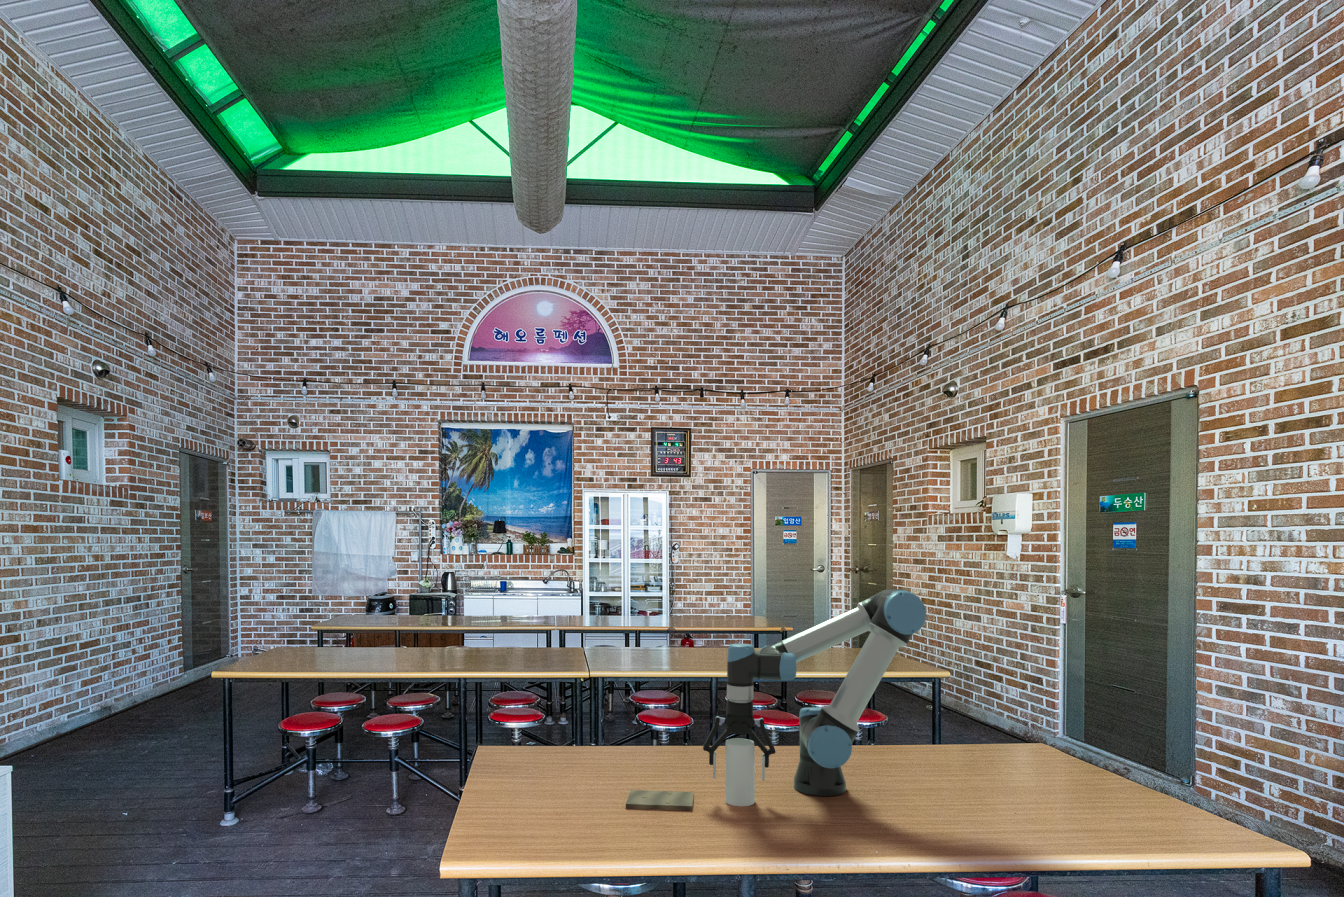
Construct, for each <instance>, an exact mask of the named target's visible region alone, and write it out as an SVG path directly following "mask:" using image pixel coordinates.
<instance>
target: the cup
mask: <svg viewBox="0 0 1344 897" xmlns="http://www.w3.org/2000/svg"><path fill="white" fill-rule="evenodd" d="M724 742H725V747H724V748H725V749H724V750H725V752H724V753H725V754H724V761H725V762H724V765H725V766H724V767H725V769H724V772H725V774H724V802H725V803H726V804H728V805H730V806H734V807H749V806H752V805H754V804H755V797H756V795H755V791H756V790H755V786H756V785H755V780H756V779H755V777H756V776H755V775H756V774H755V773H756V770H755V769H756V768H755V766H756V765H755V761H756V756H755V755H756V754H755V752H756V750H755V746H756V743H755V741H754V740H753V739H752V740H751V739H747V738H739V737H738V738H730V739H729V738H728V739H725V741H724Z"/></svg>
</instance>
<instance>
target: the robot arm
mask: <svg viewBox="0 0 1344 897" xmlns="http://www.w3.org/2000/svg"><path fill="white" fill-rule="evenodd" d="M926 620H927V610H926V606H925V603H924V602H923V601H922V599H921V598H920V597H919V596H918V595H917V594H915V593H913V592H911V591H909V590H906V589H898V588H895V587H893V588H887V589H884V590H881V591H879V592H877V593H875V594H874V595H871V596H870V597H868V598H866V599H864V600H862V601H860V602H858V603H857V605H856V607H855V608H853V609H850V610H848V611H846V612H843V613H841V614H839V615H837V616H835V617H832V618H829V619H828V620H825V621H823V622H821V623H819V624H817V625H814V626H812V627H810V628H807V629H805V630H803V631H801V632H798V633H796V634H794V635H791V636H789V637H788V638H785V639H783V640H780V641H778V642H776V643H774V644H768V645H765V646H762V648H760V650H759V651H756V650H755V647H754V646H755V645H754V644H749V643H732V644H730V645H729V646H728V647H727V648H728V649H727V662H726V664H727V665H726V668H727V669H726V670H727V672H726V674H727V675H726V677H727V678H726V699H727V700H726V712H725V713H726V716H725V717H720V716H719V715H716V716H715V718H714V724H713V726H712V728H711V730H710V732H709V734H708V735H707V738H706V740H705V741H704V743H703V746H702V750H703V751H704V752H708V753H709V754H708V756H709V758H708V759H709V760H708V761H709V765H710V766H712V768H713V769H712V779H716V776H717V749H718V748H719V747H720V746H721V745H722V744H723V742H725V741H726V740H727V738H728V737H729V736H730V735H731V734H732V735H736V736H737V735H741V736H745V735H747V734H748V736H750V738H751V739H752V741H754V743H755V745H757V746H758V749H760V751H761V752H762V753H761V769H760V770H761V771H760V772H761V775H760V776H761V781H762V782H765V780H766V779H765V778H766V776H765V774H766V773H765V772H766V770H765V769H766V768H769V767H770V756H771V755H775V754H776V753H777V752H776V749H775V746H774V744H773V741H772V740H771V738H770V735H769V733H768V732H767V731H768V730H767V729H766V727H765V720H764V718H763V717H759V718H754V702H753V700H754V681H755V680H771V681H772V680H775V681H783V682H785V681H793V680H795V679H796V677H797V663H799V662H802V661H803V660H805V659H808V658H810V657H812V656H814V655H817V654H819V653H821V652H823V651H826V650H828V649H830V648H833V647H835V646H837V645H839V644H842V643H844V642H846V641H848V640H850V639H853V638H855V637H857V636H860V635H862V634H864V633H867V632H870V633H869V635H868V636H867V638H866V639H865V642H864V644H863V645H862V647H861V649H860V651H859V653H858V654H857V656H856V657H855V659H854V661H853V663H852V665H851V667H850V669H849V670H848V672H847V673H846V676H845V677H844V679H843V681H842V682H841V684H840V686H839V688H838V690H837V691H836V693H835V695H834V697H833V698H832V700H831V702H830V704H828V705H823V706H822V707H816V706H814V707H812V706H811V707H810V706H809V707H802V708H800V709H799V716H798V720H799V761H798V764H797V768H796V771H795V774H794V777H793V788H794V789H795V790H797V791H798V792H800V793H803V794H805V795H811V796H815V797H835V796H840V795H843V794H845V792H847V791H846V790H847V781H846V778H845V776H844V775H845V774H844V772H843V770H842V769H843V768H842V766H844V765H845V764H846V763H847V762H848V761H849V760H850V758H851V756H852V752H853V743H854V740H855V738H856V736H858V733H859V731H860V728H859V726H858V725H859V724H858V721H859V719H860V718H861V716H862V714H863V712H864V711H865V709H866V707H867V705H868V704H869V702H870V700H871V698H872V696H873V695H874V693H875V691H876V689H877V688H878V686H879V684H880V682H881V681H882V679H883V676H884V675H885V673H886V672H887V669H889V668H888V667H889V666H890V664H891V662H892V661H893V658H894V657H895V656H896V654H897V652H898V649H899V648H901V647H906V646H907V645H908V643H909V641H911V638H912V637H913V635H914V634H915V633H917V632H918V631H920V630H921V629H922V628H923V626H924V625H925V623H926ZM723 723H725V725H726V728H725V729H724V730H723V732H722V733H721V734H720V735H719V737H718V738H717V739H716V740H715V741H714V742H713V744H712V745H711V743H712V741H713V740H714V737H715V735H716V733H717V732H718V730H719V726H722V725H723ZM755 725H756V726H757V727H758V728H760V731H761V733H762V736H763V738H764V739H765V741H766V744H767V746H768V748H767V747H766V745H765V744H764V743H763V742H762V740H761V739H760V738H759V737H758V736H757V734H756V733H755V731H754V730H753V729H752V728H753V727H754V726H755Z"/></svg>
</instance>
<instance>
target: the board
mask: <svg viewBox="0 0 1344 897" xmlns="http://www.w3.org/2000/svg"><path fill="white" fill-rule="evenodd" d="M694 794H695V792H694V791H677V790H676V791H671V790H668V791H667V790H646V789H645V790H643V789H642V790H641V789H630V791H629V794H628V797H627V799H626V802H625V809H627V810H631V809H633V810H654V811H655V810H657V811H660V810H661V811H687V812H693V808H694V796H695V795H694Z"/></svg>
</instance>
